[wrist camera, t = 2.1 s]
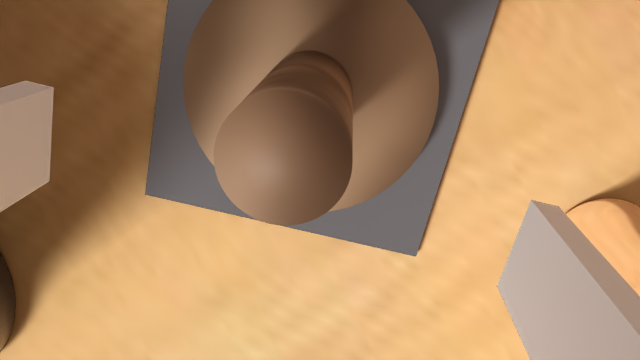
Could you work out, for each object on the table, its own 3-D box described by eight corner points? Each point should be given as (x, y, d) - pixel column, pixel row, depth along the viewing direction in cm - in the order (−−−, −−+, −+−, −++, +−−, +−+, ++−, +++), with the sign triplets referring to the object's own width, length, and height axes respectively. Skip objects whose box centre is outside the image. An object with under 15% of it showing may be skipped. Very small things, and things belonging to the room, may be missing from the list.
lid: (174, 176, 30) (67, 289, 19) (208, -71, 26) (94, -115, 14) (397, 227, 30) (423, 369, 19) (469, -8, 26) (558, -4, 15)
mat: (147, 191, 31) (145, 194, 31) (183, -112, 26) (181, -113, 25) (415, 253, 31) (415, 256, 31) (507, -33, 26) (510, -34, 26)
